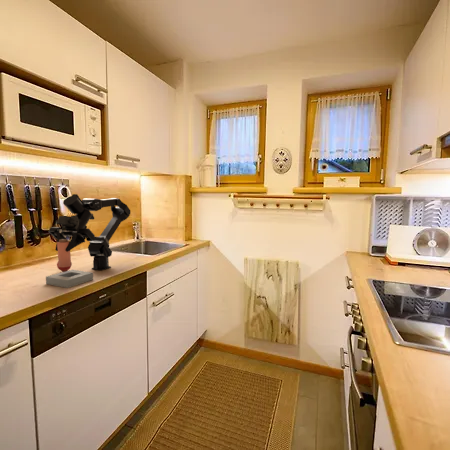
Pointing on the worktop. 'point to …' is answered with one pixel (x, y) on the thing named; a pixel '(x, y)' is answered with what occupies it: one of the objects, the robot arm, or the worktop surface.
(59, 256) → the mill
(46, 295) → the worktop surface
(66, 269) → the onion
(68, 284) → the socket board
